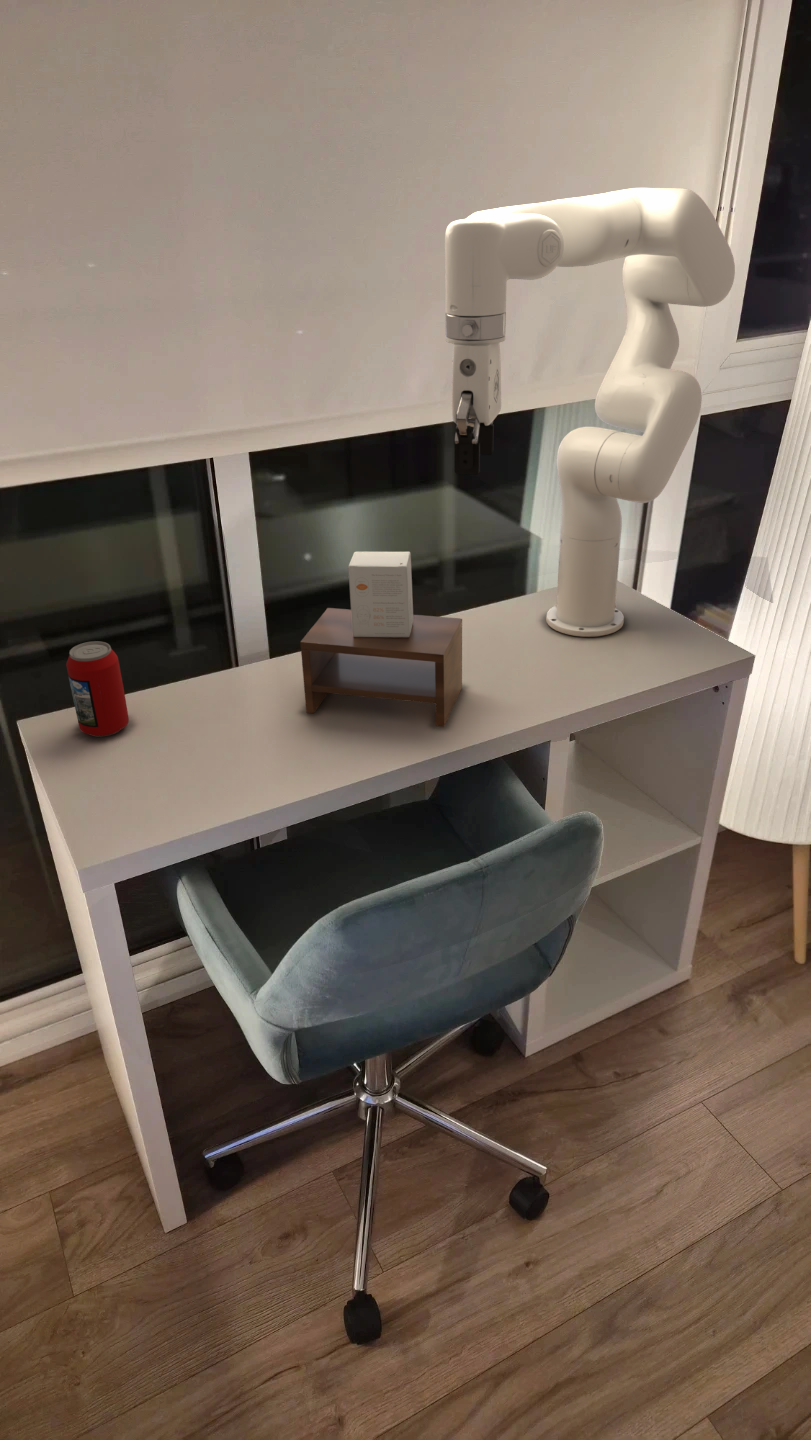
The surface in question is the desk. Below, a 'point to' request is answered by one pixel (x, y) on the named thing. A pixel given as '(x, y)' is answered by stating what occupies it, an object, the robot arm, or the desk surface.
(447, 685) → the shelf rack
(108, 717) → the beverage can
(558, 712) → the desk surface
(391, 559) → the small box
